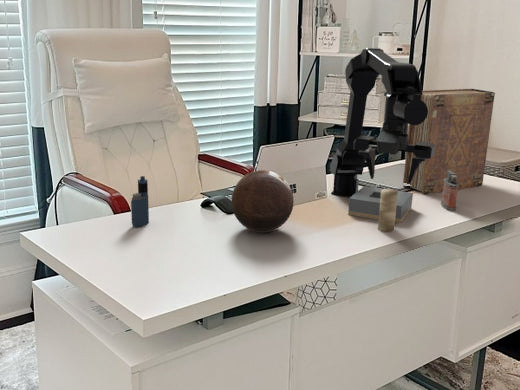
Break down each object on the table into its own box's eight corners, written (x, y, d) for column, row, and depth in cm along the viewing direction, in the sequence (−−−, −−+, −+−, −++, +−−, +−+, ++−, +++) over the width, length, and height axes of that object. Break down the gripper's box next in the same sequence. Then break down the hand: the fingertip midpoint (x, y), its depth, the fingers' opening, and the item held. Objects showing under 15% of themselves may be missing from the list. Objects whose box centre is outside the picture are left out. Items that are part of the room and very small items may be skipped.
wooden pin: (376, 230, 153) (379, 192, 150) (380, 225, 157) (383, 188, 154) (392, 233, 152) (395, 194, 149) (395, 228, 155) (399, 190, 152)
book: (422, 194, 186) (433, 94, 177) (402, 186, 193) (411, 91, 185) (482, 185, 197) (495, 91, 189) (461, 179, 205) (472, 88, 197)
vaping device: (151, 222, 154) (149, 176, 151) (138, 228, 150) (137, 181, 146) (142, 220, 155) (141, 174, 152) (129, 226, 151) (128, 179, 147)
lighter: (458, 211, 170) (462, 176, 167) (446, 211, 170) (450, 176, 167) (450, 202, 178) (454, 169, 175) (438, 202, 178) (442, 169, 175)
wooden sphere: (299, 239, 145) (302, 178, 141) (236, 242, 142) (237, 180, 138) (283, 219, 159) (286, 163, 155) (226, 221, 156) (227, 164, 152)
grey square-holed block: (348, 214, 165) (349, 198, 164) (362, 201, 177) (363, 186, 176) (400, 222, 159) (401, 206, 158) (411, 208, 172) (412, 193, 170)
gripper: (348, 118, 143) (344, 183, 147) (430, 126, 135) (422, 194, 140) (361, 112, 153) (357, 173, 157) (438, 119, 145) (431, 183, 150)
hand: (390, 181), depth 151 cm, fingers open, 9 cm apart
